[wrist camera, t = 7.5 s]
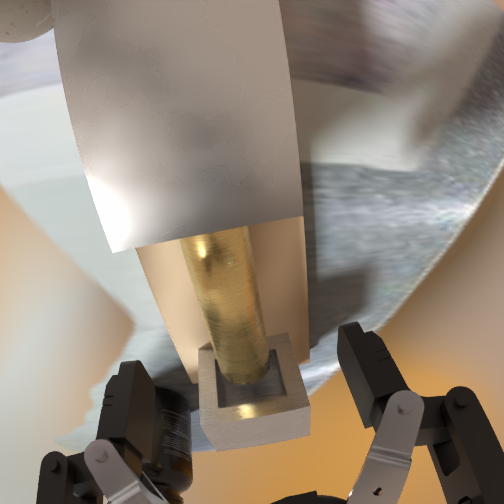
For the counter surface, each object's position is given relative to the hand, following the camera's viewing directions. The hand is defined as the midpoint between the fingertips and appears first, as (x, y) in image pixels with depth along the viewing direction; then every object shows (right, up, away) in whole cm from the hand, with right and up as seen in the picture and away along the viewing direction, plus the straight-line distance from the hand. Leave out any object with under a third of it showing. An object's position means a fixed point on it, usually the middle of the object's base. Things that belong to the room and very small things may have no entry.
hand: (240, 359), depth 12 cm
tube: (-1, +5, +5) cm, 7 cm away
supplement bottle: (-9, -11, +16) cm, 22 cm away
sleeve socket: (-1, +5, +6) cm, 8 cm away
